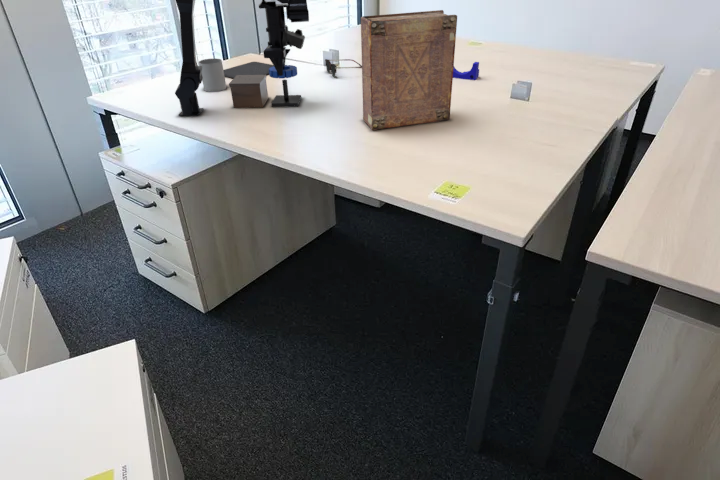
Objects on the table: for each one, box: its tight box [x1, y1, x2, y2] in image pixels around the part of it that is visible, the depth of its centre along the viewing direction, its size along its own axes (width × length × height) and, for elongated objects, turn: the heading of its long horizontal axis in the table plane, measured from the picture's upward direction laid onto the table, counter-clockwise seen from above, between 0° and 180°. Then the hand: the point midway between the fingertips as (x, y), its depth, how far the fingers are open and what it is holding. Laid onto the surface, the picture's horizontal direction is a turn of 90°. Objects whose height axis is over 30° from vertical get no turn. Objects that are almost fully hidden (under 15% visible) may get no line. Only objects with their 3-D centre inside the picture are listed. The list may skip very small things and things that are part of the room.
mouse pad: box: [223, 61, 274, 79], centre depth 202 cm, size 23×20×1 cm
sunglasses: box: [324, 58, 362, 78], centre depth 196 cm, size 14×16×5 cm
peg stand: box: [271, 79, 302, 108], centre depth 165 cm, size 9×9×8 cm
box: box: [228, 75, 269, 109], centre depth 165 cm, size 10×10×8 cm
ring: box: [268, 64, 298, 79], centre depth 161 cm, size 9×9×2 cm
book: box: [360, 9, 458, 131], centre depth 141 cm, size 25×9×30 cm, turn 107°
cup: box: [198, 58, 227, 93], centre depth 180 cm, size 8×8×10 cm
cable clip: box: [453, 61, 480, 81], centre depth 186 cm, size 12×4×6 cm, turn 62°
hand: (281, 74), depth 158 cm, fingers closed on ring, 2 cm apart
